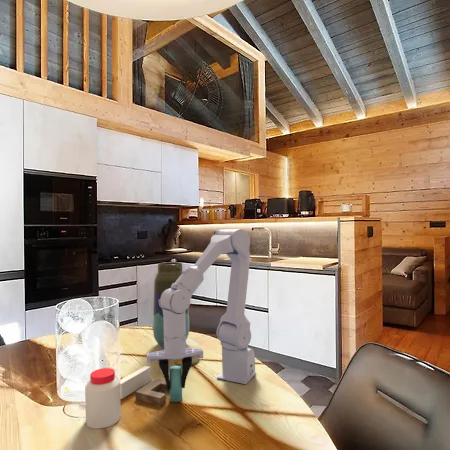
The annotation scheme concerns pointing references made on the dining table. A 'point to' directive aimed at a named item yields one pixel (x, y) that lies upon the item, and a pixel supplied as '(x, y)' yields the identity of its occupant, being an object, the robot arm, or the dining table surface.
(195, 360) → the bread roll
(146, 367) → the board
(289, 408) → the dining table surface
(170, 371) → the dowel
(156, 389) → the block
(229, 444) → the dining table surface
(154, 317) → the vase
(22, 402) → the dining table surface
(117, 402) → the pill bottle
